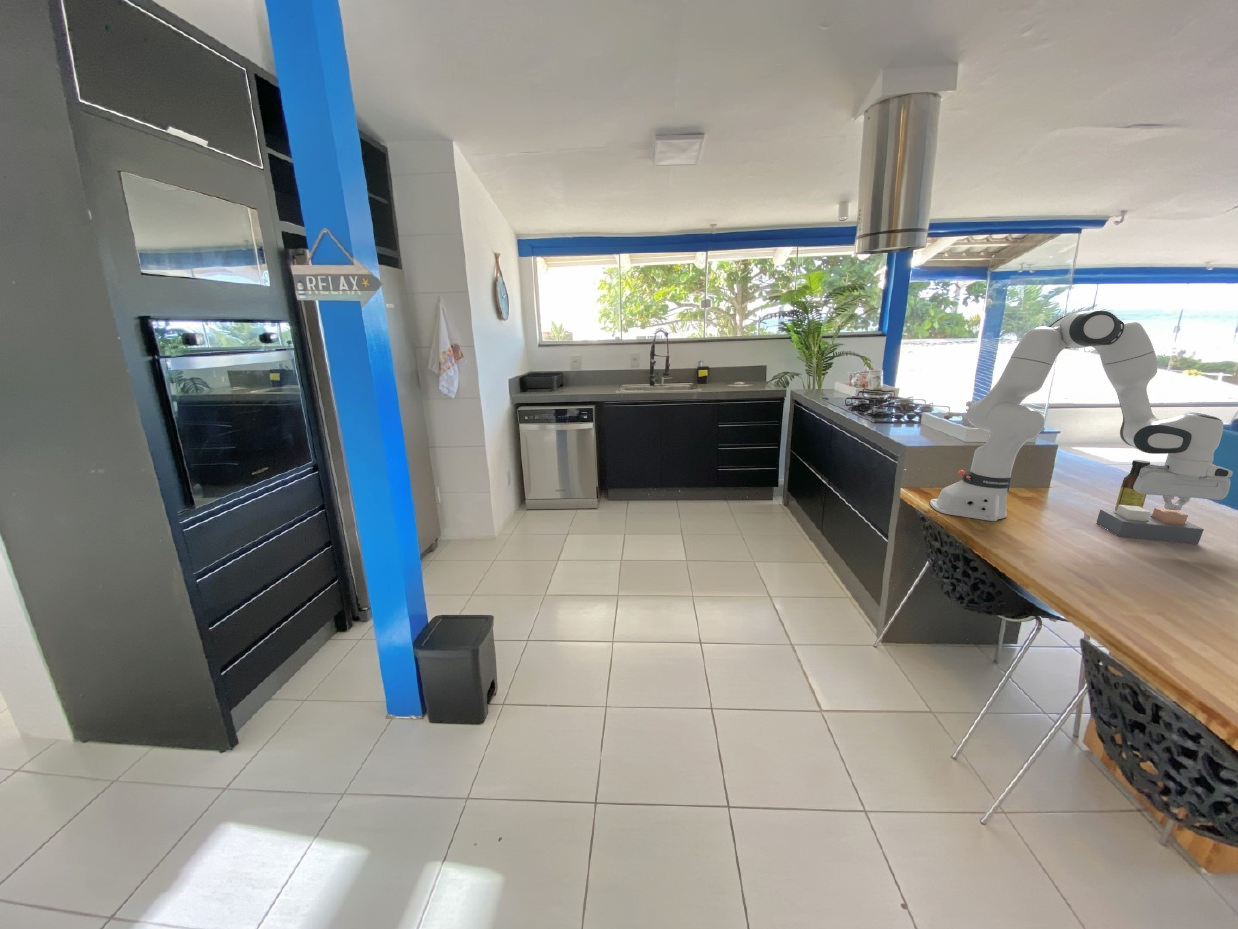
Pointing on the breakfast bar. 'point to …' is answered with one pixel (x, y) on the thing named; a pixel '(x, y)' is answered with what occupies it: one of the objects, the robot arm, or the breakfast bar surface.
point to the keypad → (1149, 528)
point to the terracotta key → (1169, 516)
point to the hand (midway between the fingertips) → (1171, 509)
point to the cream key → (1132, 512)
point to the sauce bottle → (1127, 492)
